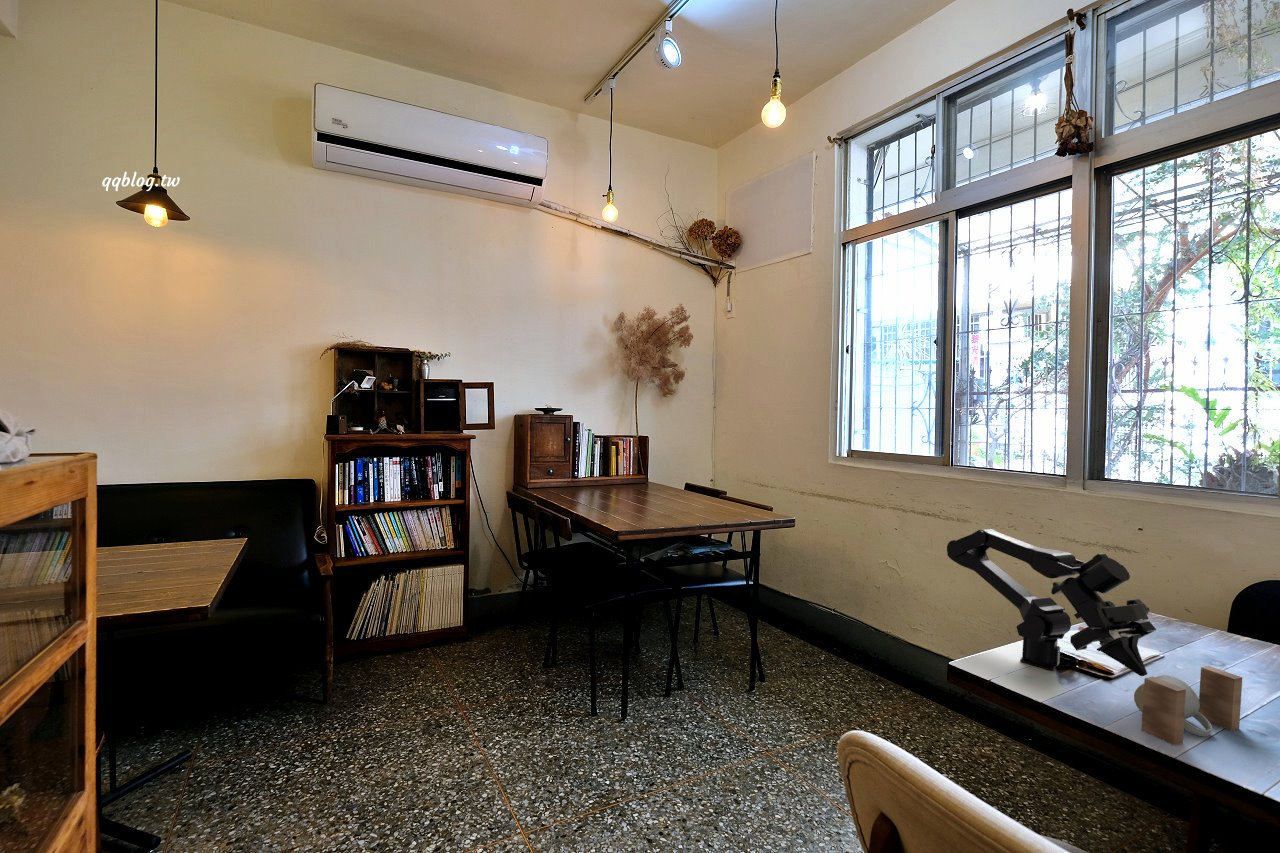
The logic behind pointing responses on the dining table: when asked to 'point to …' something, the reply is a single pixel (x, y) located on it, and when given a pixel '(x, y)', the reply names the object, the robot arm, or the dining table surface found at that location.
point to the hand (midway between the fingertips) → (1144, 675)
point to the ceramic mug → (1190, 705)
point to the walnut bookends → (1169, 704)
